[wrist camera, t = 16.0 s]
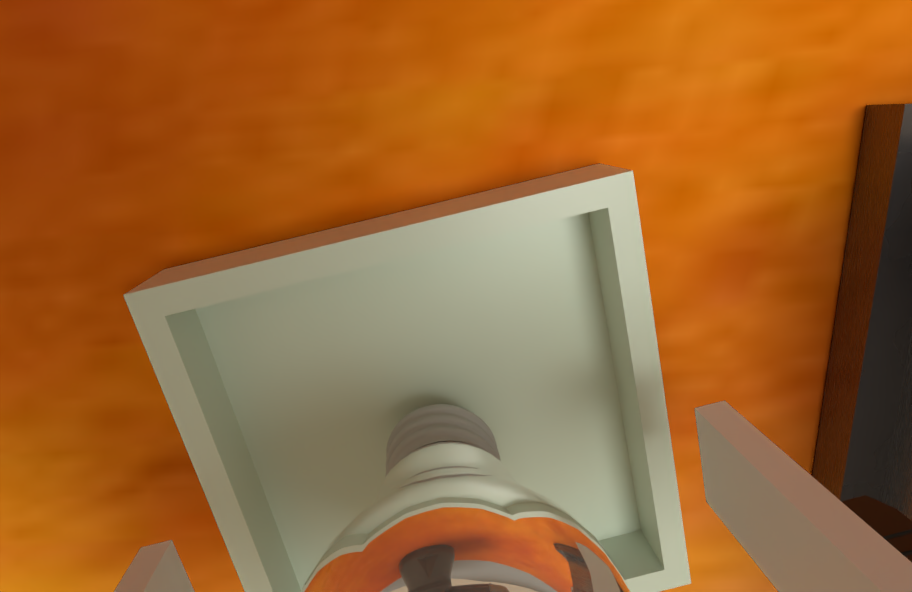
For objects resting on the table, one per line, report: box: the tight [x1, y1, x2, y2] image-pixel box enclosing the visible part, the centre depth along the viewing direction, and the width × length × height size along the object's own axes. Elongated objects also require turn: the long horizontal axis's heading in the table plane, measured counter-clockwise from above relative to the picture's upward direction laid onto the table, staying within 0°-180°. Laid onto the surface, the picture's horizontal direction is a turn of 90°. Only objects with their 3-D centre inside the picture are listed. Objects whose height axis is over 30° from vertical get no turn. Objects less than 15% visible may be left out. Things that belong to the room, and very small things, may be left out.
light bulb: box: [301, 404, 631, 592], centre depth 14 cm, size 7×7×12 cm
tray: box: [123, 163, 691, 592], centre depth 19 cm, size 14×14×3 cm
